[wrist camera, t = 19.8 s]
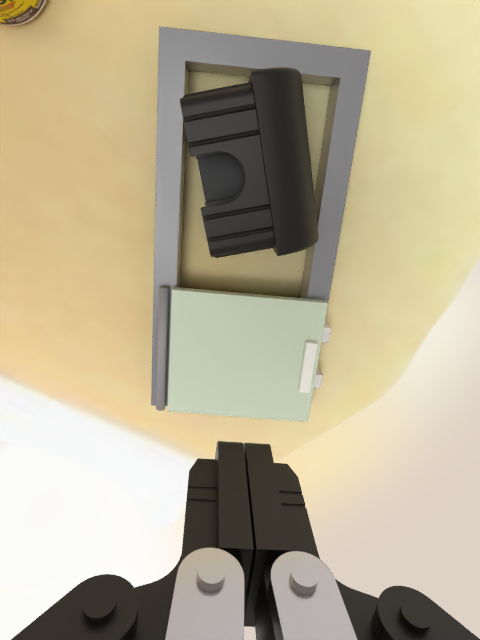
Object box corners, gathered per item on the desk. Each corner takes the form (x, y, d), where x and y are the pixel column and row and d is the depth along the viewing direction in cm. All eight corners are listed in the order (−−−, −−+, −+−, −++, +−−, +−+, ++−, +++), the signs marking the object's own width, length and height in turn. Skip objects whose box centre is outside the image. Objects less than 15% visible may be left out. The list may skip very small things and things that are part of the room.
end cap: (308, 232, 31) (328, 248, 25) (215, 248, 32) (212, 268, 25) (291, 83, 28) (309, 58, 22) (187, 103, 28) (175, 84, 22)
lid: (156, 405, 33) (153, 414, 32) (160, 285, 30) (156, 290, 28) (306, 417, 33) (309, 426, 32) (326, 300, 30) (329, 305, 29)
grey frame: (156, 389, 35) (151, 405, 33) (165, 38, 27) (159, 26, 24) (310, 399, 36) (316, 415, 34) (367, 61, 27) (380, 51, 25)
